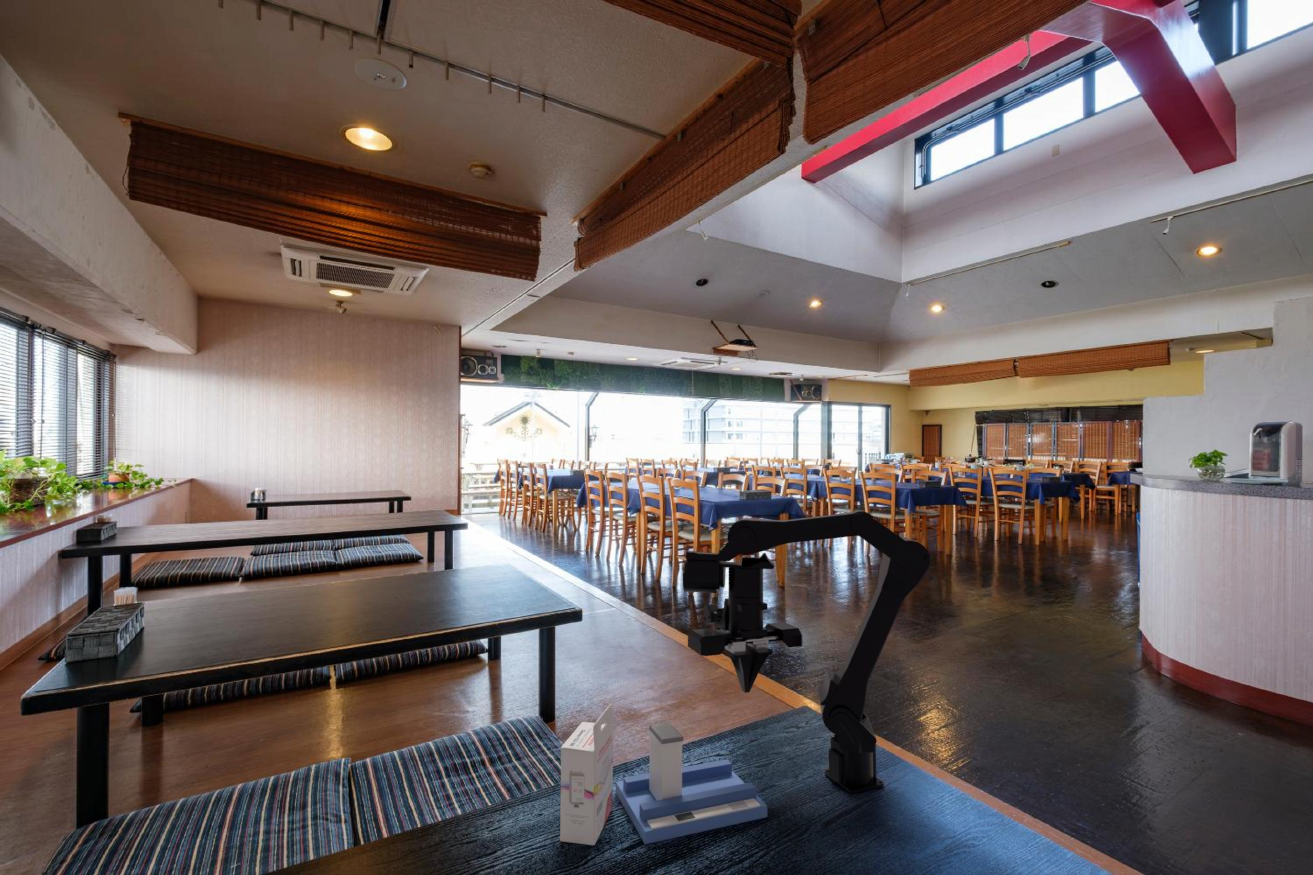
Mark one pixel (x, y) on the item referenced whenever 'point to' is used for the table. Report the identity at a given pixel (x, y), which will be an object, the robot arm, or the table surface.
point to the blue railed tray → (691, 802)
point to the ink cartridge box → (587, 780)
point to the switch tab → (665, 761)
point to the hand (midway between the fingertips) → (745, 691)
